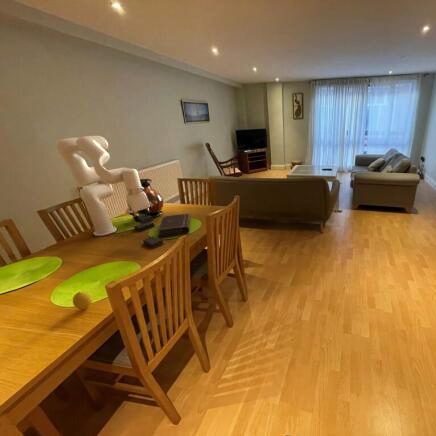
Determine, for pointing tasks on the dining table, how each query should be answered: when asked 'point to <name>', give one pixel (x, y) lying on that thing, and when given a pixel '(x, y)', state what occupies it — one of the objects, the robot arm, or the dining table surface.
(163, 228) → the diary
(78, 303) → the brown egg shape
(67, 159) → the robot arm
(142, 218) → the pad mid
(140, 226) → the pad top
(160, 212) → the amphora vase
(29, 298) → the dining table surface
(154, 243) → the pad base
